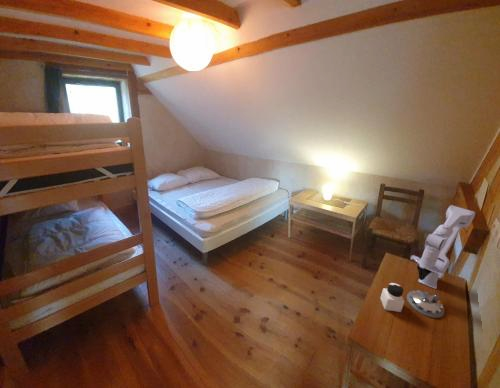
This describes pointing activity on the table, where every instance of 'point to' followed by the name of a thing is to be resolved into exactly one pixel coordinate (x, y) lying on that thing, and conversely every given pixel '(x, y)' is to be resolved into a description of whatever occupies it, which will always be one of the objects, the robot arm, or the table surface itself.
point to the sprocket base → (428, 314)
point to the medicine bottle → (392, 297)
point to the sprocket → (426, 301)
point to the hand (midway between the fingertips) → (421, 278)
